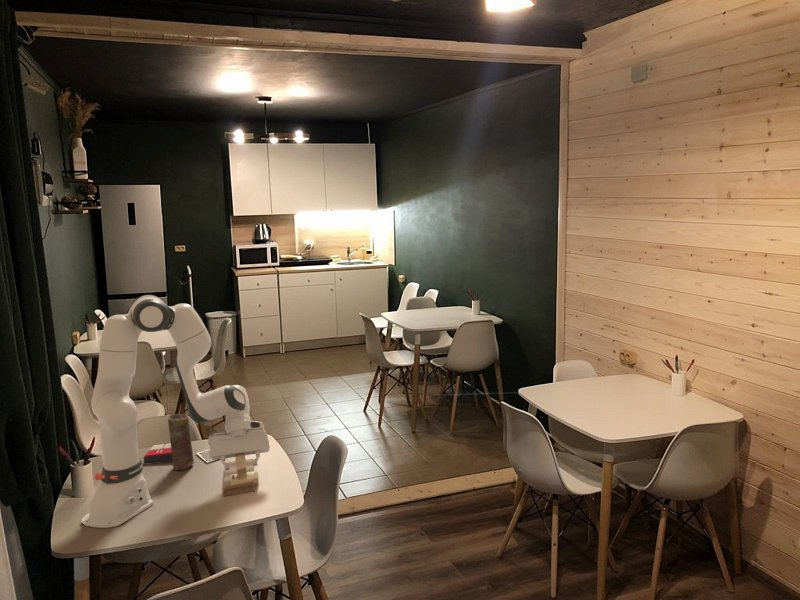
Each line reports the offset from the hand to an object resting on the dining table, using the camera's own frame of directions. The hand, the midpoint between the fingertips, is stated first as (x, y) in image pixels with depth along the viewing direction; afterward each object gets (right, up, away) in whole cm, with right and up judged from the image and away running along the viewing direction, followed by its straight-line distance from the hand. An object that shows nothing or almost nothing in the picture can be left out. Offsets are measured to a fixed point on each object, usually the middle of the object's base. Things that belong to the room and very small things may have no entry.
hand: (241, 467), depth 214 cm
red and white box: (-37, -5, +32) cm, 49 cm away
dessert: (-18, -4, +32) cm, 36 cm away
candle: (-27, -6, +22) cm, 35 cm away
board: (-3, -7, +8) cm, 11 cm away
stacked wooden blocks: (+1, -6, +3) cm, 7 cm away
